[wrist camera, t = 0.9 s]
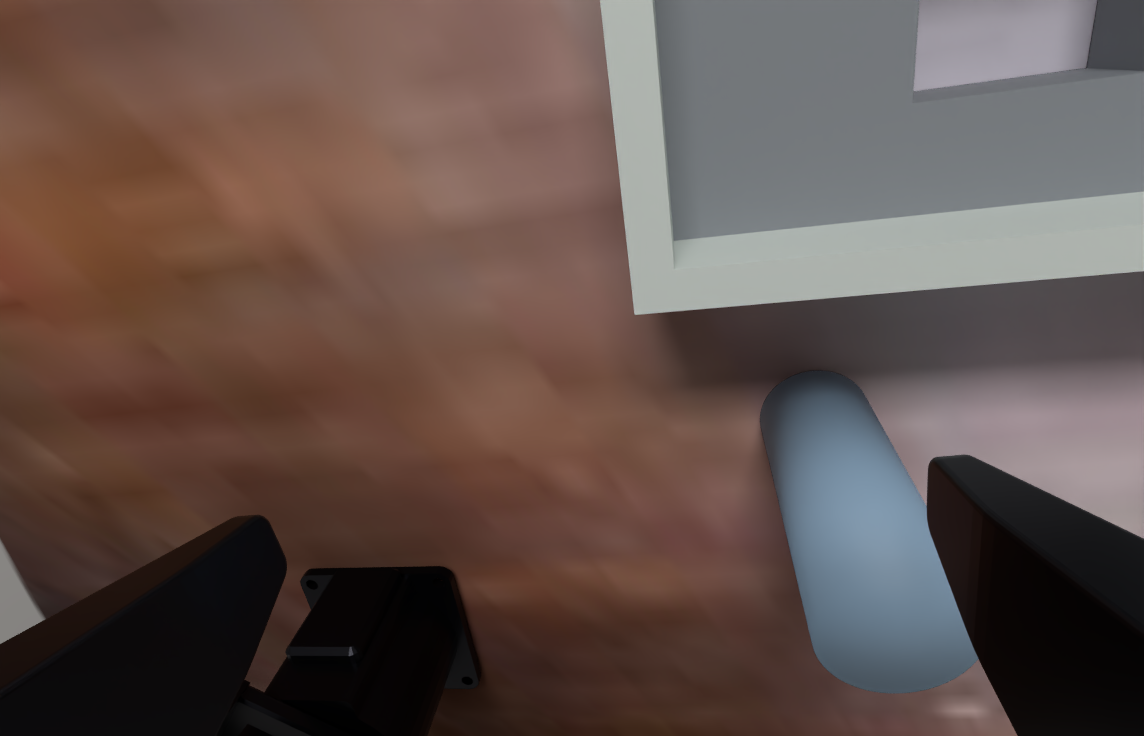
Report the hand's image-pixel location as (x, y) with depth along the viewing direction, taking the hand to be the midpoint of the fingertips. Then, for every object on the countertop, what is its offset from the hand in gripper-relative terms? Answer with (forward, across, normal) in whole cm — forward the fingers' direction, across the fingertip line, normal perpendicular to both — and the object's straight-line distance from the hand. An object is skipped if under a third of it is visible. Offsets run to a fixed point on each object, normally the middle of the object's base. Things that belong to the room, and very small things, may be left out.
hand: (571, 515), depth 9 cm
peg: (+13, -5, +6) cm, 15 cm away
